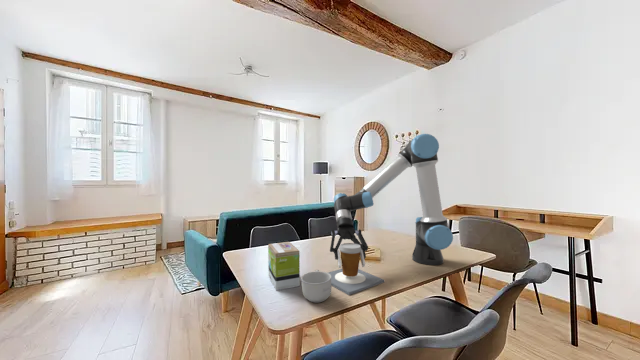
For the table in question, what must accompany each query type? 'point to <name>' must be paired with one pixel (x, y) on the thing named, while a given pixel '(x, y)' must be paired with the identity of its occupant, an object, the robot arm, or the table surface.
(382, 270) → the table surface
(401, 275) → the table surface
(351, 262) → the disposable coffee cup
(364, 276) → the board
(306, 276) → the teacup
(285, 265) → the tea box
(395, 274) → the table surface
